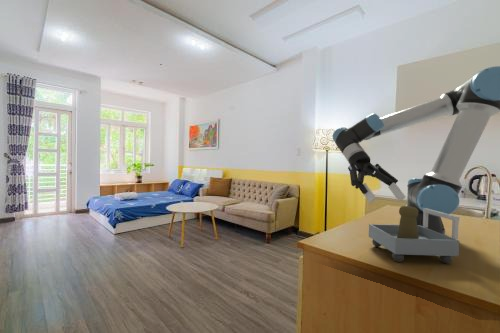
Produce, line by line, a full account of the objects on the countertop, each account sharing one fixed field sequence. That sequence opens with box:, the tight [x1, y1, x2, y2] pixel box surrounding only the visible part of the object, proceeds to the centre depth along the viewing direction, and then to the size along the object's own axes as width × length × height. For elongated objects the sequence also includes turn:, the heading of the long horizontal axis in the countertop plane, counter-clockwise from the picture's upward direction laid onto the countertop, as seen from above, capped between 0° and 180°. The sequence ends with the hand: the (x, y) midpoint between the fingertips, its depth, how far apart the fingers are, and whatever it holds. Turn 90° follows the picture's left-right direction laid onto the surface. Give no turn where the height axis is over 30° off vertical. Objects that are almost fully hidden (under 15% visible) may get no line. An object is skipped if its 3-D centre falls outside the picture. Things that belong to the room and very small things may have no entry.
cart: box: [368, 208, 460, 264], centre depth 75 cm, size 19×16×14 cm
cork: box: [397, 205, 419, 239], centre depth 75 cm, size 6×6×11 cm
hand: (388, 200), depth 81 cm, fingers open, 13 cm apart
